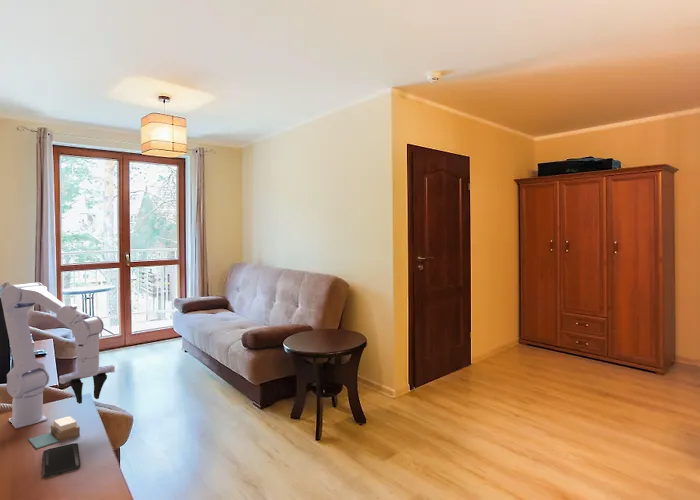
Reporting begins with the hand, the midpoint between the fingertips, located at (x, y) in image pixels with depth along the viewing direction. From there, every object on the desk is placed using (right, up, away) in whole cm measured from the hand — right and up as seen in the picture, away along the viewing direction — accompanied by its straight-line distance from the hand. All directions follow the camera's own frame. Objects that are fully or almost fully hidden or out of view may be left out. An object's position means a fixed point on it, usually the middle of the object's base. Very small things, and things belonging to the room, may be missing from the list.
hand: (88, 400), depth 124 cm
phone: (+5, -9, -19) cm, 22 cm away
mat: (-7, -9, -9) cm, 14 cm away
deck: (-4, -8, -5) cm, 10 cm away
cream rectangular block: (-4, -6, -5) cm, 8 cm away
